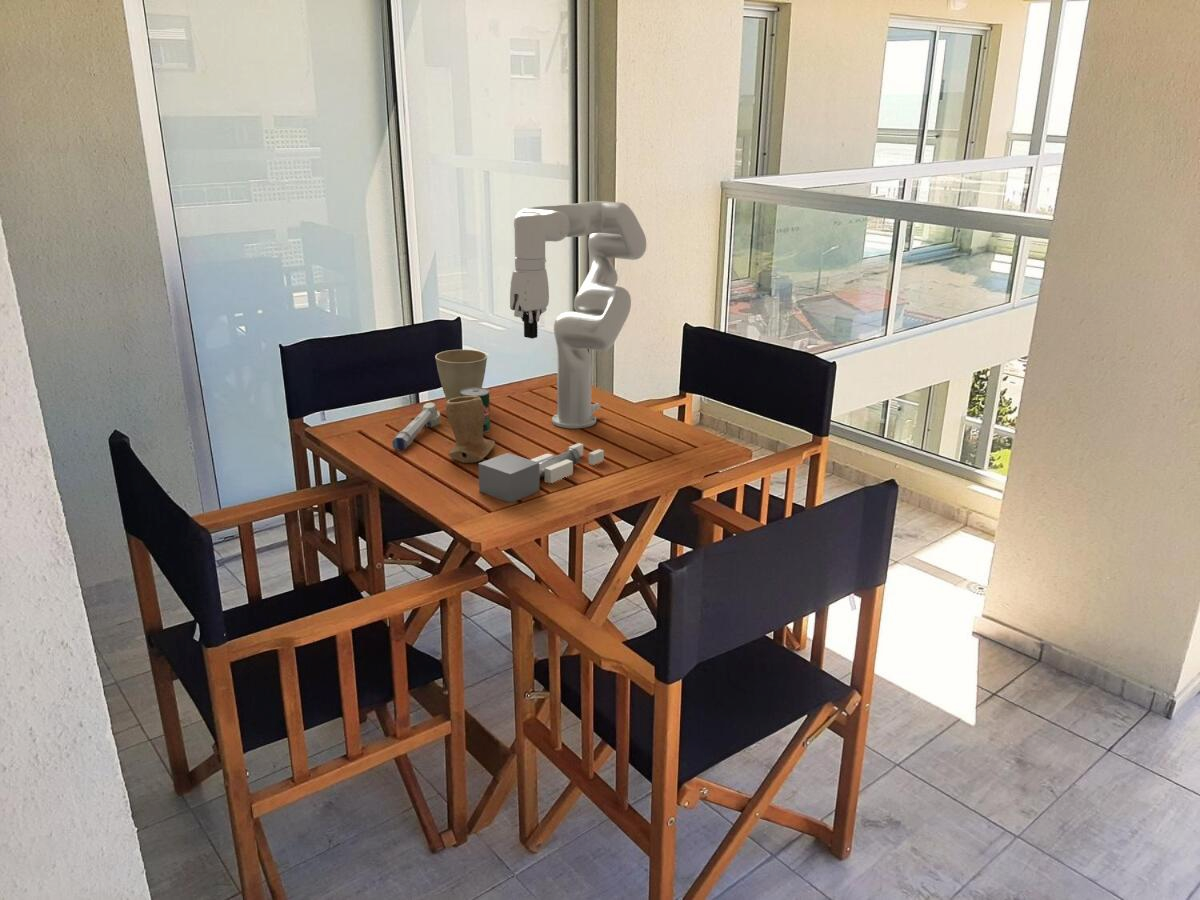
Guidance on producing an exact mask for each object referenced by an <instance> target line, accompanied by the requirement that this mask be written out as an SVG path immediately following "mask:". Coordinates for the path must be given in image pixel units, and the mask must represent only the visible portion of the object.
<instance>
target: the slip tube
mask: <svg viewBox="0 0 1200 900" xmlns="http://www.w3.org/2000/svg"><path fill="white" fill-rule="evenodd" d="M566 459H567V460H571V461H573V466H575V465H577V464H579V462H580V461H581V456H580V454H579V452H578V451H577V450H576V449H574V448H572V449H569V450H568V449H567V450H565V452H562V453H560V454H557V455H555V456H554V455H553V457H552V458H549V459H547V460H544V461H542V462H539V479H540V478H542V477H545V468H546V467H549V466H551V465H554V464H556V463H559V462H561V461H564V460H566Z"/></svg>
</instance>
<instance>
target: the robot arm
mask: <svg viewBox="0 0 1200 900" xmlns="http://www.w3.org/2000/svg"><path fill="white" fill-rule="evenodd" d="M513 228H514V270H513V271H512V275H511V281H510V288H509V289H510V292H509V308H510V309H511V311H514V312H513V315H514V317H515V318H520V319H521V321H522V322H523V337H524V338H528V339H532V340H533V339H536V338H538V337H539V336H538V322H539V321H540V317H541V316H542V314H543V313H546V311H547V307H548V306H549V302H550V301H549V300H550V292H549V291H550V289H549V287H550V286H549V278H548V273H547V269H546V262H547V258H546V242H554V243H555V242H559V241H563V240H565V238H577V237H579V238H580V237H582V236H588V235H589V236H588V240H587V241H588V242H587V243H588V244H587V245H588V254H589V256H588V257H589V271H588V273H587V275H586V277H585V279H584V280H583V282H582V284H581V285H580V288H579V290H578V291H577V293H576V296H575V297H574V301H573V307H574V310H575V311H572V310H571V311H563V312H562V313H560V314H558V315H557V317H556V318H555V320H554V323H553V332H554V333H553V334H554V339H555V346H556V354H557V359H556V360H557V374H556V375H557V379H556V380H557V383H556V384H557V387H556V388H557V393H556V394H557V398H556V399H557V400H556V402H557V403H556V404H557V406H556V408H557V413H556V414H554V415H553V416H552V417H551V422H552V424H553V425H555V426H556V427H559V428H565V429H586V428H590V427H592V426H595V424H596V423H597V417H596V416H595V415H594V414H593V413H594V412H595V411H598V410H600V409H601V404H600V403H599V402H596V403H593V404H592V372H593V371H592V359H591V355H590V353H589V351H588V350H593V351H600V352H601V351H608V350H609V349H610V348H612V347H613V345H614V343H615V342H616V340H617V338H618V336H619V334H620V333H621V331H622V329H623V327H624V325H625V323H626V321H627V319H628V317H629V315H630V311H631V306H632V298H631V295H630V293H629V291H628V290H627V289H626V288H624V287H621V286H618V285H617V283H618V280H619V279H618V278H619V277H618V274H617V270H616V268H615V266H614V265H613V263H612V261H611V258H612V259H619V260H620V259H622V260H631V261H633V260H639V259H641V258H642V257H643V256H644V255H645V252H646V250H647V239H646V235H645V232H644V230H643V228H642V226H641V224H640V222H639V220H638V218H637V216H636V215H635V213H634V212H633V210H632V209H631V208H630V206H629V205H628V204H627V203H624V202H621V201H620V202H617V201H616V202H615V201H605V200H603V201H602V200H593V201H586V202H578V203H568V204H567V203H566V204H565V203H563V204H557V205H541V206H533V207H532V206H531V207H525V208H522V209H521V210H519V211H518V212H517V213H516V214H515V217H514V219H513Z"/></svg>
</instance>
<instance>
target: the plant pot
mask: <svg viewBox="0 0 1200 900" xmlns="http://www.w3.org/2000/svg"><path fill="white" fill-rule="evenodd" d="M434 358H435V363H436V369H437V374H438V377H439V381H440V385H441V389H442V391H443V393H444V396H445V398H446V402H447V401H448V400H450V399H452V398H457V397H461V393H460V392H461V390H463V389H466V388H472V387H480V388H483V385H484V384H483V383H484V379H485V374H486V368H487V360H488V355H487V353H485V352H483V351H481V350H476V349H475V350H473V349H451V350H445V351H441V352H439V353H436V354H435V357H434Z"/></svg>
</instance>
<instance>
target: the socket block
mask: <svg viewBox="0 0 1200 900" xmlns="http://www.w3.org/2000/svg"><path fill="white" fill-rule="evenodd" d="M478 491H479V492H480V493H482V494H485V495H488V496H491V497H493V498H497V499H499V500H501V501H504V502H507V503H512V504H513V503H514V502H517V501H518V500H519V501H520V500H521V499H523V498H526V497H528V496H531V495H534V494H535V492H536V493H538V492H540V478H539V463H538V462H535V461H532V460H531V459H528V458H525V457H522V456H519V455H515V454H512V453H509V452H506V453H503V454H500V455H497V456H495V457H492V458H489V459H487V460H484V461H483V460H482V462H479V463H478ZM537 491H538V492H537Z"/></svg>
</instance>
